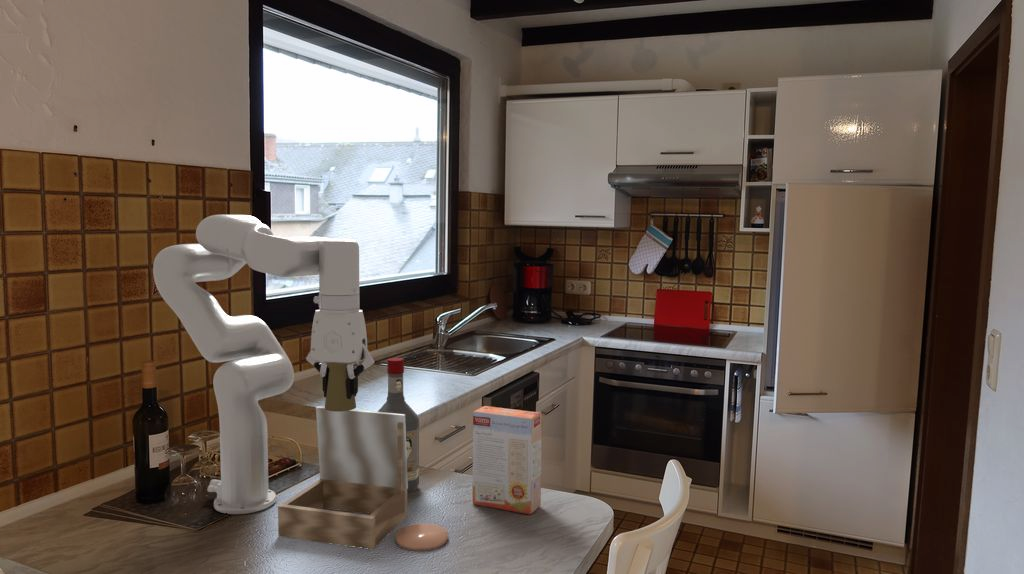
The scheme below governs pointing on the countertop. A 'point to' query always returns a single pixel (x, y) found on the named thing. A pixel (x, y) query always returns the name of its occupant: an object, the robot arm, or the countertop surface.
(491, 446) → the cracker box
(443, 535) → the peach flat disc
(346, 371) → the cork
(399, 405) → the liquor
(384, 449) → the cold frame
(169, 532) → the countertop surface
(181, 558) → the countertop surface
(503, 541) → the countertop surface
